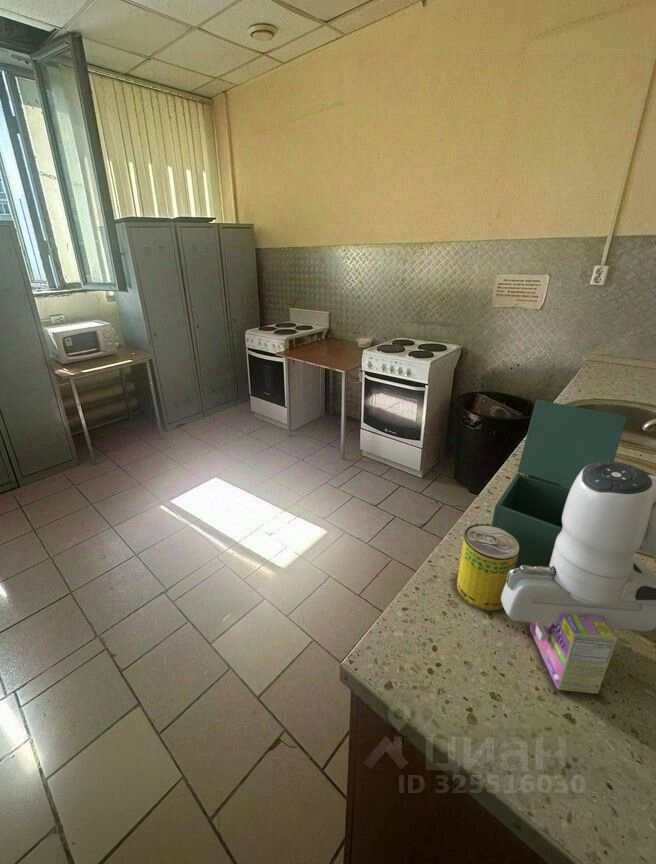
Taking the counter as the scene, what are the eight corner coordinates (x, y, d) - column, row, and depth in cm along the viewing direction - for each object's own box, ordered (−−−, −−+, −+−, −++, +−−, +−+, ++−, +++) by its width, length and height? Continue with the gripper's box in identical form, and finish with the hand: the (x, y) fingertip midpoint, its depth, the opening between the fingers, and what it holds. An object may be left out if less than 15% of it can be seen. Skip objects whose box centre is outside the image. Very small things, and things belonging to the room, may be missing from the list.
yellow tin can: (512, 615, 70) (524, 563, 66) (458, 604, 73) (466, 552, 69) (503, 577, 78) (513, 528, 74) (455, 568, 81) (462, 520, 77)
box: (527, 628, 68) (540, 575, 64) (563, 631, 67) (579, 578, 63) (555, 690, 58) (573, 633, 54) (598, 695, 58) (619, 638, 53)
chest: (573, 600, 73) (591, 540, 68) (485, 560, 83) (495, 505, 78) (586, 553, 84) (602, 499, 79) (507, 523, 94) (517, 473, 89)
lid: (626, 416, 77) (626, 416, 77) (536, 399, 86) (537, 399, 87) (603, 497, 78) (603, 497, 79) (517, 471, 88) (517, 471, 89)
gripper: (519, 582, 55) (503, 652, 59) (683, 593, 52) (652, 665, 57) (502, 549, 60) (489, 615, 65) (649, 558, 58) (624, 626, 63)
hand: (566, 638), depth 61 cm, fingers closed on box, 5 cm apart
